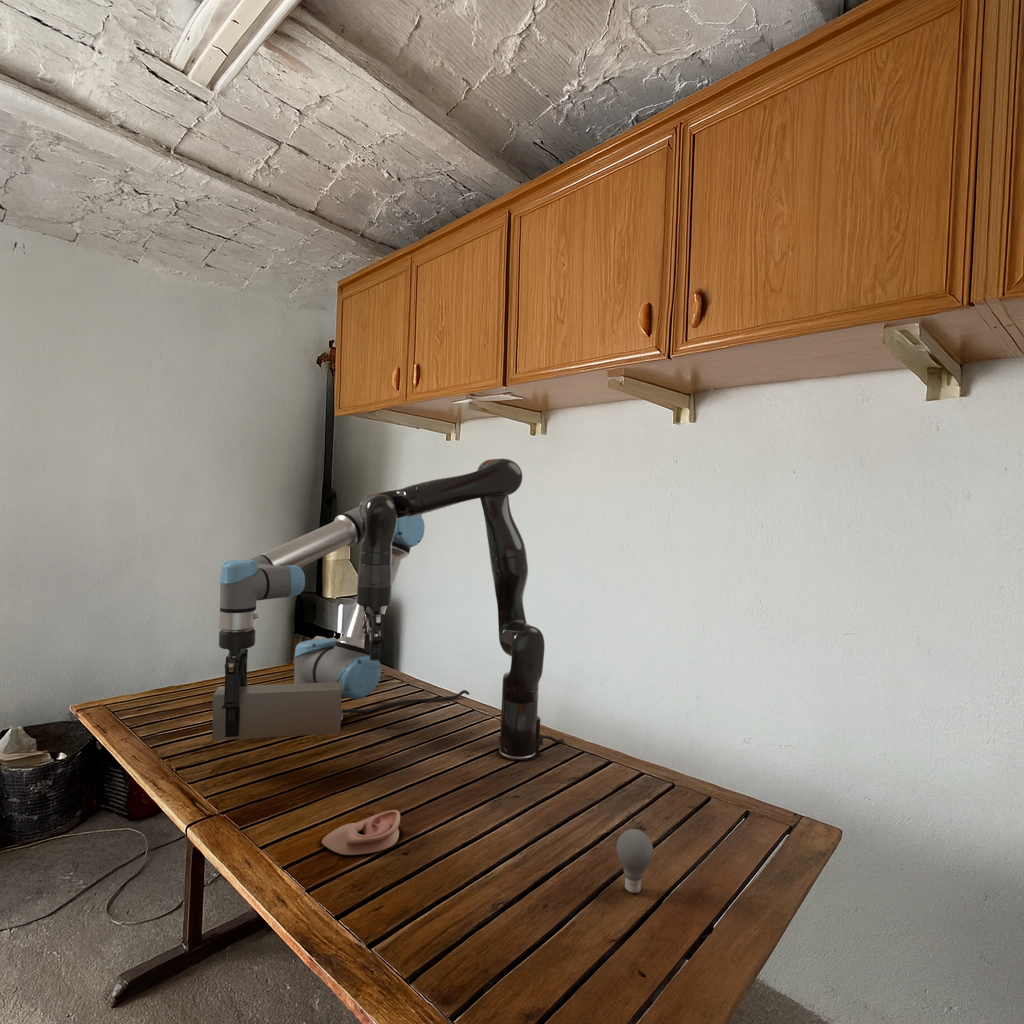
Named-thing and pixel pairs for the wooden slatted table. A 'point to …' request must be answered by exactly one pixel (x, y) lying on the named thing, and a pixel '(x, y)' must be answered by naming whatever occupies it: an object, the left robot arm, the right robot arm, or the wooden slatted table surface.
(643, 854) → the light bulb
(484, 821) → the wooden slatted table surface
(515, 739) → the right robot arm
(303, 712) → the box
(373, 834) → the anatomical model
